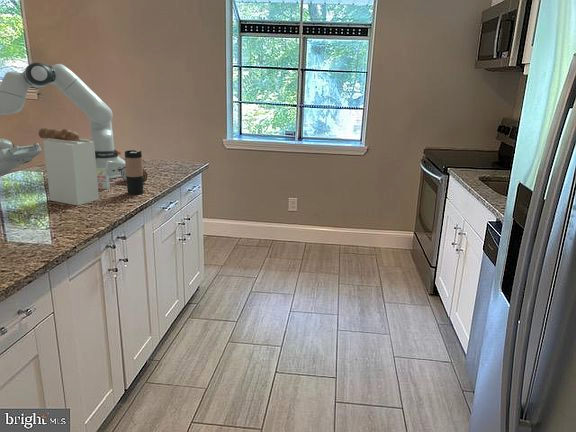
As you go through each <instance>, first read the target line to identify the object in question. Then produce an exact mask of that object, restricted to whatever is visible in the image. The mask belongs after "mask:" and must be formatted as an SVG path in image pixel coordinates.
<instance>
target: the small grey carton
mask: <svg viewBox="0 0 576 432" xmlns="http://www.w3.org/2000/svg"><path fill="white" fill-rule="evenodd" d="M96 170H97V181H98V190H109V189H110V188H111V186H110V184H111V183H110V179H109V174H108V170H107V169H102V168H96Z"/></svg>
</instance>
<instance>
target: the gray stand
mask: <svg viewBox="0 0 576 432" xmlns="http://www.w3.org/2000/svg"><path fill="white" fill-rule="evenodd" d="M42 143H43V150H44V151H43V152H44V160H45V167H46V176H47V183H48V184H47V185H48V191H49V192H48V193H49V201H52V202H58V203H63V204H69V205H72V206H81V205H84V204H87V203H91V202H93V201H97V200H99V199H100V195H99V189H98V181H97V170H96V158H95V147H94V142H93V141H92V140H91V139H87V138H79V140H78V141H68V140H60V139H52V138H47V139H46V140H43V141H42Z"/></svg>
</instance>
